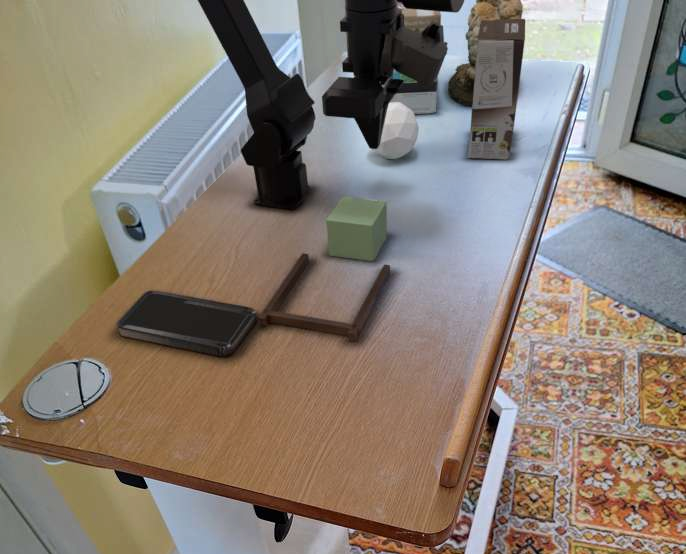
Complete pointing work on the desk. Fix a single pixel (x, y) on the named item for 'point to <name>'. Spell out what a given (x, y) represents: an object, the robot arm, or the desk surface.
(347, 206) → the block
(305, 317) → the bay
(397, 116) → the geometric ball
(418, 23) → the tea box
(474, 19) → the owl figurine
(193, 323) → the phone
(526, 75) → the desk surface
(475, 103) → the coffee box
